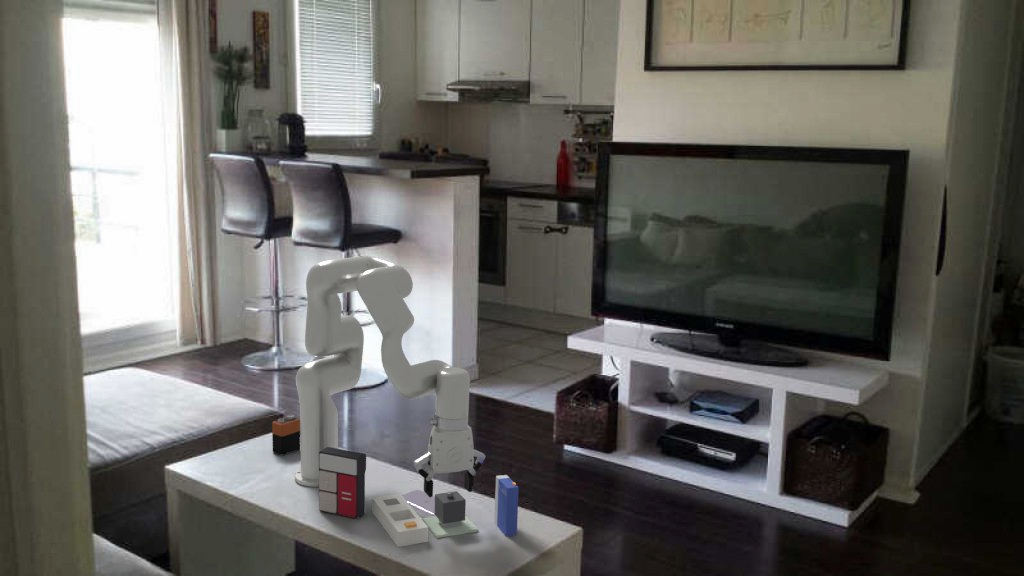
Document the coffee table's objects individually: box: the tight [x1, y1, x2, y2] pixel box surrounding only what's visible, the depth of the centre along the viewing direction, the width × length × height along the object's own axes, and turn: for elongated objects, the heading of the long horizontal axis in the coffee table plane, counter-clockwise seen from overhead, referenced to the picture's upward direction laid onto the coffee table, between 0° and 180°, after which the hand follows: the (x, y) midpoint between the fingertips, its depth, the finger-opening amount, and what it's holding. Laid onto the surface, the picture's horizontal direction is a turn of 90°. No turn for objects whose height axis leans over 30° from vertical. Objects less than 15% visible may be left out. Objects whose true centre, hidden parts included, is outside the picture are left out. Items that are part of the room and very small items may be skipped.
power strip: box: [371, 493, 429, 548], centre depth 211 cm, size 20×7×4 cm, turn 25°
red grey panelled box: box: [318, 447, 367, 519], centre depth 216 cm, size 11×4×15 cm, turn 68°
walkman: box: [493, 474, 519, 537], centre depth 211 cm, size 8×3×12 cm, turn 21°
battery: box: [271, 414, 301, 456], centre depth 256 cm, size 4×7×10 cm, turn 145°
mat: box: [421, 515, 479, 539], centre depth 212 cm, size 10×10×1 cm
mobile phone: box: [401, 489, 435, 517], centre depth 225 cm, size 8×1×15 cm
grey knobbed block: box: [434, 490, 466, 528], centre depth 212 cm, size 6×6×8 cm
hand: (448, 492), depth 211 cm, fingers open, 9 cm apart
